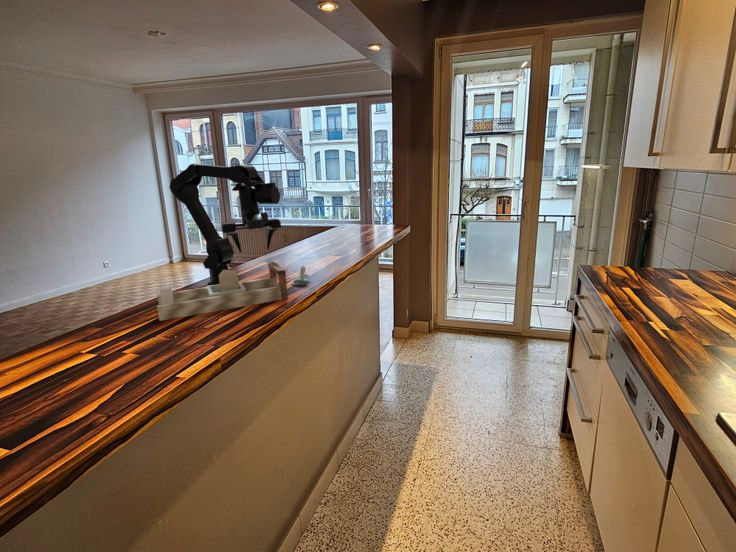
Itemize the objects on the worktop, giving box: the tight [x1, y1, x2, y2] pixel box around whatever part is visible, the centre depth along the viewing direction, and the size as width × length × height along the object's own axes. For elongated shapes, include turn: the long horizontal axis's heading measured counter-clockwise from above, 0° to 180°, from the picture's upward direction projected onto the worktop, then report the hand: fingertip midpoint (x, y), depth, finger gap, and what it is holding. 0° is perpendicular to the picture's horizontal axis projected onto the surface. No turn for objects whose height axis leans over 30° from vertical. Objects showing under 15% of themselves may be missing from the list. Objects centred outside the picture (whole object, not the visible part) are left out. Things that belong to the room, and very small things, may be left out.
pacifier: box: [290, 265, 311, 286], centre depth 141 cm, size 7×6×6 cm
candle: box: [219, 269, 240, 292], centre depth 123 cm, size 6×6×10 cm
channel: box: [156, 261, 289, 322], centre depth 122 cm, size 36×13×9 cm, turn 116°
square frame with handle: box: [159, 280, 246, 305], centre depth 120 cm, size 22×10×7 cm, turn 116°
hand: (254, 250), depth 139 cm, fingers open, 9 cm apart
